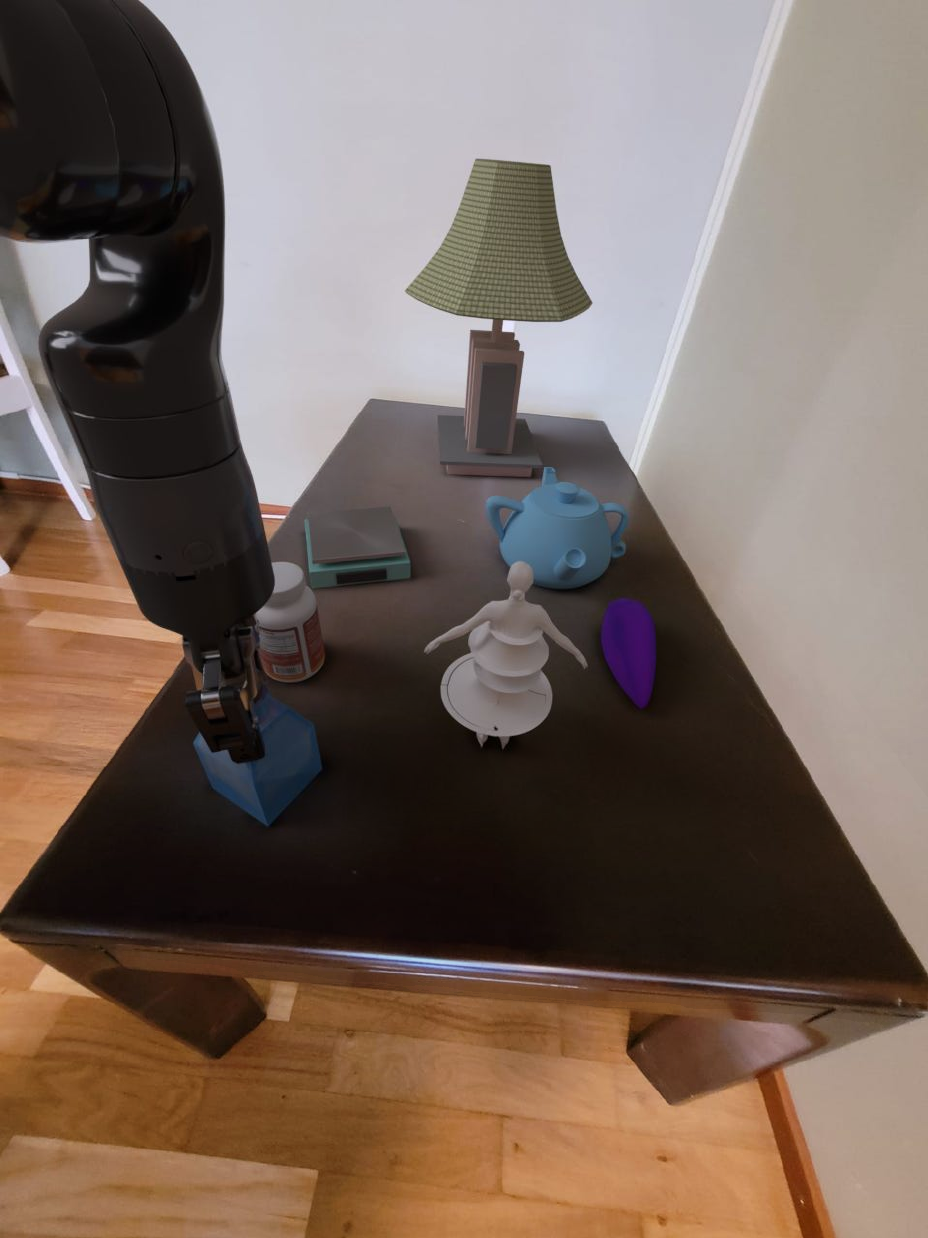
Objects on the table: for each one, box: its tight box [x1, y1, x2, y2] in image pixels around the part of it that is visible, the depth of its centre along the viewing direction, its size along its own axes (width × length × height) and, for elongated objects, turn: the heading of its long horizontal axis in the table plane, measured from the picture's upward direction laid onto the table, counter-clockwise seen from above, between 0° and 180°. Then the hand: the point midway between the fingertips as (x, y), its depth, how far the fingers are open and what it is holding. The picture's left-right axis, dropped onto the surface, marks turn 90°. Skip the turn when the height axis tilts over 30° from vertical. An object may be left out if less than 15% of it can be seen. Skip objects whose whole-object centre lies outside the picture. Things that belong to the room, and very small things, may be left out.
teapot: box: [485, 466, 630, 590], centre depth 68 cm, size 15×17×11 cm
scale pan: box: [306, 506, 406, 564], centre depth 68 cm, size 11×11×1 cm
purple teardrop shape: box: [600, 597, 657, 709], centre depth 57 cm, size 5×5×15 cm
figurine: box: [423, 561, 588, 750], centre depth 44 cm, size 13×10×20 cm
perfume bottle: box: [192, 668, 323, 828], centre depth 41 cm, size 6×6×12 cm
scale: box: [304, 512, 411, 590], centre depth 69 cm, size 12×12×3 cm
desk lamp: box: [404, 158, 593, 478], centre depth 83 cm, size 26×28×40 cm
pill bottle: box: [256, 561, 326, 684], centre depth 52 cm, size 6×6×11 cm
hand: (250, 722), depth 40 cm, fingers closed on perfume bottle, 5 cm apart
